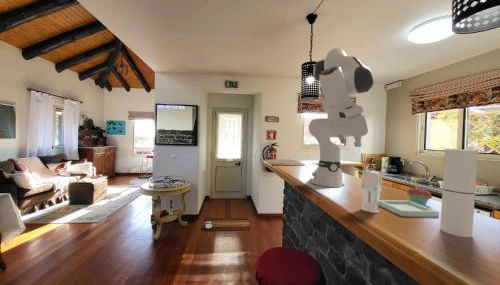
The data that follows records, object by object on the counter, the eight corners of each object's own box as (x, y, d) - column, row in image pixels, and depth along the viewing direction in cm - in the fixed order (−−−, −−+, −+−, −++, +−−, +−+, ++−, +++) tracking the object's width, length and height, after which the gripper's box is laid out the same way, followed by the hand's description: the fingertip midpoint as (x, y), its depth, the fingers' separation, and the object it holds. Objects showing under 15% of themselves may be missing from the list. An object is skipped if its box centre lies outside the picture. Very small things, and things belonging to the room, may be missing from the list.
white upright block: (375, 208, 89) (377, 170, 88) (384, 214, 82) (386, 173, 81) (357, 207, 89) (359, 169, 89) (364, 212, 82) (366, 172, 82)
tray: (377, 204, 94) (377, 199, 94) (408, 205, 95) (409, 200, 95) (401, 216, 80) (402, 210, 80) (438, 217, 81) (438, 211, 81)
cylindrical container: (451, 236, 64) (456, 149, 64) (434, 226, 71) (439, 148, 71) (479, 238, 63) (485, 150, 63) (459, 228, 70) (464, 149, 70)
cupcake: (412, 206, 94) (414, 177, 93) (402, 200, 102) (404, 174, 102) (435, 208, 92) (437, 179, 92) (423, 202, 100) (425, 175, 100)
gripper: (320, 113, 94) (329, 144, 96) (349, 113, 74) (360, 152, 76) (333, 108, 94) (342, 138, 97) (365, 107, 74) (376, 145, 77)
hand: (350, 144), depth 86 cm, fingers open, 8 cm apart
